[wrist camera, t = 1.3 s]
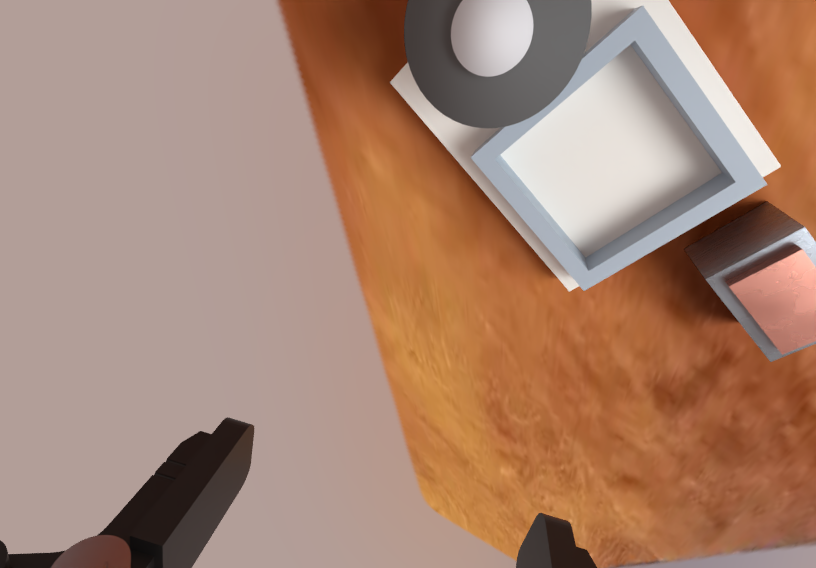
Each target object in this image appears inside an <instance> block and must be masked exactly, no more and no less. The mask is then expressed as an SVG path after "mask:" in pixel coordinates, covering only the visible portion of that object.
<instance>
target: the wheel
mask: <svg viewBox="0 0 816 568" xmlns="http://www.w3.org/2000/svg"><path fill="white" fill-rule="evenodd" d="M591 18H592V2H591V0H408V4H407V8H406V14H405V24H404V41H405V50H406V56H407V60H408V64H409V67H410V70H411V73H412V75H413V78H414V80H415V82H416V84H417V85H418V87H419V89H420V91H421V92H422V93H423V95H424V96H425V98H426V99H427V100H428V101H429V102H430V103H431V104H432V105H433V106H434V107H435V108H436V109H437V110H438V111H440V112H441V113H442V114H443V115H445V116H447V117H448V118H450V119H452V120H454V121H456V122H458V123H461V124H463V125H467V126H471V127H476V128H500V127H506V126H510V125H513V124H517V123H519V122H522V121H524V120H526V119H529V118H530V117H532V116H534V115H535V114H537V113H539V112H540V111H541V110H543V109H544V108H545V107H547V106H548V105H549V104H550V103H551V102H552V101H553V100H554V99H555V98H556V97H558V96H559V94H560V93H561V92H562V91H563V90H564V88H565V87H566V86H567V85H568V83H569V81H570V80H571V78H572V77H573V75H574V74H575V72H576V70H577V68H578V66H579V64H580V62H581V60H582V57H583V54H584V52H585V49H586V46H587V42H588V38H589V33H590V26H591Z"/></svg>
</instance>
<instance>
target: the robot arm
mask: <svg viewBox="0 0 816 568" xmlns="http://www.w3.org/2000/svg"><path fill="white" fill-rule="evenodd" d="M253 437H254V426H253V425H251V424H248V423H245V422H241V421H238V420H235V419H231V418H226V419H224V420H223V421H222V422H221V424H220V425H219V426H218V427H217V428H216V430H215V431H214V432H213V433H212V434H209V433H205V432H202V431H200V432H198V433H197V434H195V435H194V436H192V437H190V438H188V439H187V440H185V441H183V442H182V443H180V445H179V446H178V447H177V448H176V449H175V450H174V452H173V453H172V454H171V455H170V456H169V457H168V458H167V461H166V462H164V463H163V464H162V465H161V466H160V467H159V468H158V470H157V471H156V472H155V475H154V476H153V475H152V476H151V478H150V479H149V480H148V481H147V482H146V483H145V484H144V485H143V487H142V488H141V489H140V490H139V491H138V492H137V493H136V495H135V496H134V497H133V498H132V499H131V500H130V501H129V502H128V504H127V505H126V506H125V507H124V508H123V509H122V510H121V512H120V513H119V514H118V515H117V516H116V517H115V518H114V519H113V521H112V522H111V523H110V524H109V525H108V526H107V527H106V528H105V529H104V530H103V531H102V532H101V533H100V534H98V535H97V536H93V537H90V538H87V539H85V540H82V541H80V542H78V543H76V544H75V545H73V546H71V547H70V548H69V549H67V550H66V551H61V552H54V553H34V554H33V553H32V554H8V552H7V548H6V546H5V544H4V543H3V542H2V541H0V568H192V566H193V565H194V563H195V561H196V560H197V558H198V557H199V555H200V553H201V552H202V550H203V548H204V547H205V545H206V544H207V542H208V541H209V539H210V537H211V536H212V534H213V533H214V531H215V529H216V528H217V526H218V525H219V523H220V521H221V520H222V518H223V517H224V515H225V513H226V512H227V510H228V508H229V507H230V505H231V504H232V502H233V500H234V499H235V497H236V496H237V494H238V493H239V491H240V489H241V488H242V486H243V484H244V482H245V480H246V477H247V475H248V472H249V469H250V464H251V455H252V446H253ZM516 568H597V567H596V565H595V563H594V562H593V560H592V558H591V556H590V555H589V553H588V551H587V550H585V549H582V548H579V547H576V545H575V540H574V536H573V531H572V527H571V524H570V523H569V522H568V521H566V520H562V519H559V518H556V517H552V516H549V515H546V514H542V513H539V514H538V515H537V516H536V518H535V520H534V522H533V524H532V526H531V528H530V530H529V532H528V534H527V536H526V537H525V539H524V541H523V543H522V545H521V547H520V550H519V553H518V557H517V564H516Z"/></svg>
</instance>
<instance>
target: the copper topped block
mask: <svg viewBox="0 0 816 568" xmlns="http://www.w3.org/2000/svg"><path fill="white" fill-rule="evenodd" d="M684 250H685V252H686V253H687V254H688V256H689V257H690V259H691V260H692V261H693V263H694V264H695V266H696V267H697V268H698V270H699V271H700V273H701V274H702V275H703V277H704V278H705V280H706V281H707V282H708V283H709V285H710V286H711V287H712V289H713V290H714V291H715V292H716V294H717V295H718V296H719V297H720V299H721V300H722V301H723V302H724V304H725V305H726V306H727V307H728V309H729V310H730V311H731V312H732V314H733V315H734V316H735V318H736V319H737V320H738V321H739V323H740V324H741V325H742V326H743V328H744V329H745V330H746V331H747V333H748V334H749V335H750V336H751V338H752V339H753V340H754V341H755V343H756V344H757V345H758V347H759V348H760V349H761V350H762V352H763V353H764V354H765V355H766V357H767V358H768V359H769V360H770V362H772V361H774V360H776V359H779V358H781V357H784V356H786V355H789V354H791V353H794V352H796V351H799V350H801V349H804V348H806V347H809V346H811V345H814V344H816V242H815V240H814V239H813V238H812V236H811V235H810V233H809V232H808V231H807V229H806V228H805V227H804V226H803V225H801V224H800V223H798V222H797V221H795V220H794V219H792V218H791V217H789V216H788V215H787V214H785V213H784V212H782V211H781V210H779V209H778V208H776V207H775V206H773V205H772V204H770V203H769V202H765V203H763V204H761V205H760V206H758V207H756V208H754V209H753V210H751V211H749V212H747V213H746V214H744V215H742V216H740V217H739V218H737V219H735V220H734V221H732V222H730V223H728V224H727V225H725V226H723V227H721V228H720V229H718V230H716V231H714V232H713V233H711V234H709V235H707V236H706V237H704V238H702V239H700V240H699V241H697V242H695V243H693V244H692V245H690V246H688V247H686V248H685V249H684Z"/></svg>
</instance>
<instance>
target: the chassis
mask: <svg viewBox="0 0 816 568" xmlns="http://www.w3.org/2000/svg"><path fill="white" fill-rule="evenodd" d="M591 2H592V18H591V26H590V33H589V38H588V42H587V46H586V49H585V52H584V54H583V57H582V60H581V62H580V64H579V66H578V68H577V70H576V72H575V74H574V75H573V77H572V78H571V80H570V81H569V83H568V85H567V86H566V87H565V88H564V90H563V91H562V92H561V93H560V94H559V96H558V97H556V98H555V99H554V100H553V101H552V102H551V103H550V104H549V105H548V106H547V107H545V108H544V109H543V110H541V111H540V112H539V113H537V114H535V115H534V116H532V117H530V118H529V119H526V120H524V121H522V122H519V123H517V124H513V125H510V126H506V127H500V128H476V127H471V126H467V125H463V124H461V123H458V122H456V121H454V120H452V119H450V118H448V117H447V116H445V115H443V114H442V113H441V112H440V111H438V110H437V109H436V108H435V107H434V106H433V105H432V104H431V103H430V102H429V101H428V100H427V99H426V98H425V96H424V95H423V93H422V92H421V91H420V89H419V87H418V85H417V84H416V82H415V80H414V78H413V75H412V73H411V70H410V67H409V64H408V62H407V64H406V65H405V66H404V67H403V68H402V69H401V70H400V72H399V73H398V74H397V75H396V76H395V77H394V78H393V79H392V81H391V82H390V83H391V84H392V86H393V87H394V88H395V89H396V90H397V91H398V93H399V94H400V95H401V96H402V97H403V98H404V100H405V101H406V102H407V103H408V104H409V105H410V107H411V108H412V109H413V110H414V111H415V112H416V114H417V115H418V116H419V117H420V118H421V119H422V121H423V122H424V123H425V124H426V125H427V126H428V128H429V129H430V130H431V131H432V132H433V133H434V135H435V136H436V137H437V138H438V139H439V140H440V142H441V143H442V144H443V145H444V146H445V147H446V148H447V150H448V151H449V152H450V153H451V154H452V155H453V157H454V158H455V159H456V160H457V161H458V162H459V164H460V165H461V166H462V167H463V168H464V169H465V171H466V172H467V173H468V174H469V175H470V176H471V178H472V179H473V180H474V181H475V182H476V183H477V185H478V186H479V187H480V188H481V189H482V190H483V192H484V193H485V194H486V195H487V196H488V197H489V199H490V200H491V201H492V202H493V203H494V204H495V206H496V207H497V208H498V209H499V210H500V211H501V212H502V214H503V215H504V216H505V217H506V218H507V219H508V221H509V222H510V223H511V224H512V225H513V226H514V228H515V229H516V230H517V231H518V232H519V233H520V235H521V236H522V237H523V238H524V239H525V240H526V242H527V243H528V244H529V245H530V246H531V247H532V249H533V250H534V251H535V252H536V253H537V254H538V256H539V257H540V258H541V259H542V260H543V261H544V263H545V264H546V265H547V266H548V267H549V268H550V270H551V271H552V272H553V273H554V274H555V275H556V277H557V278H558V279H559V280H560V281H561V282H562V283H563V285H564V286H565V287H566V288H567V289H568V290H569V292H570V291H572V290H573V289H575V288H577V287H578V286H580V287H581V288H582V289H583V291H585V290H587V289H588V288H590V287H592V286H593V285H595V284H597V283H599V282H600V281H602V280H604V279H606V278H607V277H609V276H611V275H612V274H614V273H616V272H618V271H619V270H621V269H623V268H624V267H626V266H628V265H630V264H631V263H633V262H635V261H636V260H638V259H640V258H642V257H643V256H645V255H647V254H649V253H650V252H652V251H654V250H655V249H657V248H659V247H661V246H662V245H664V244H666V243H667V242H669V241H671V240H673V239H674V238H676V237H678V236H679V235H681V234H683V233H685V232H686V231H688V230H690V229H692V228H693V227H695V226H697V225H698V224H700V223H702V222H704V221H705V220H707V219H709V218H710V217H712V216H714V215H716V214H717V213H719V212H721V211H722V210H724V209H726V208H728V207H729V206H731V205H733V204H735V203H736V202H738V201H740V200H741V199H743V198H745V197H747V196H748V195H750V194H752V193H753V192H755V191H757V190H759V189H760V188H762V187H764V186H765V185H767V183H766V182H765V180H764V179H763V177H764V176H766V175H768V174H769V173H771V172H773V171H774V170H776V169H778V168H779V167H781V165H780V164H779V162H778V161H777V159H776V158H775V157H774V155H773V154H772V152H771V151H770V149H769V148H768V146H767V145H766V143H765V142H764V140H763V139H762V137H761V136H760V134H759V133H758V132H757V130H756V129H755V127H754V126H753V124H752V123H751V121H750V120H749V118H748V117H747V115H746V114H745V112H744V111H743V109H742V108H741V106H740V105H739V104H738V102H737V101H736V99H735V98H734V96H733V95H732V93H731V92H730V90H729V89H728V87H727V86H726V84H725V83H724V81H723V80H722V79H721V77H720V76H719V74H718V73H717V71H716V70H715V68H714V67H713V65H712V64H711V62H710V61H709V59H708V58H707V56H706V55H705V53H704V52H703V51H702V49H701V48H700V46H699V45H698V43H697V42H696V40H695V39H694V37H693V36H692V34H691V33H690V31H689V30H688V28H687V27H686V26H685V24H684V23H683V21H682V20H681V18H680V17H679V15H678V14H677V12H676V11H675V9H674V8H673V6H672V5H671V3H670V2H669V0H591Z"/></svg>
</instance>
